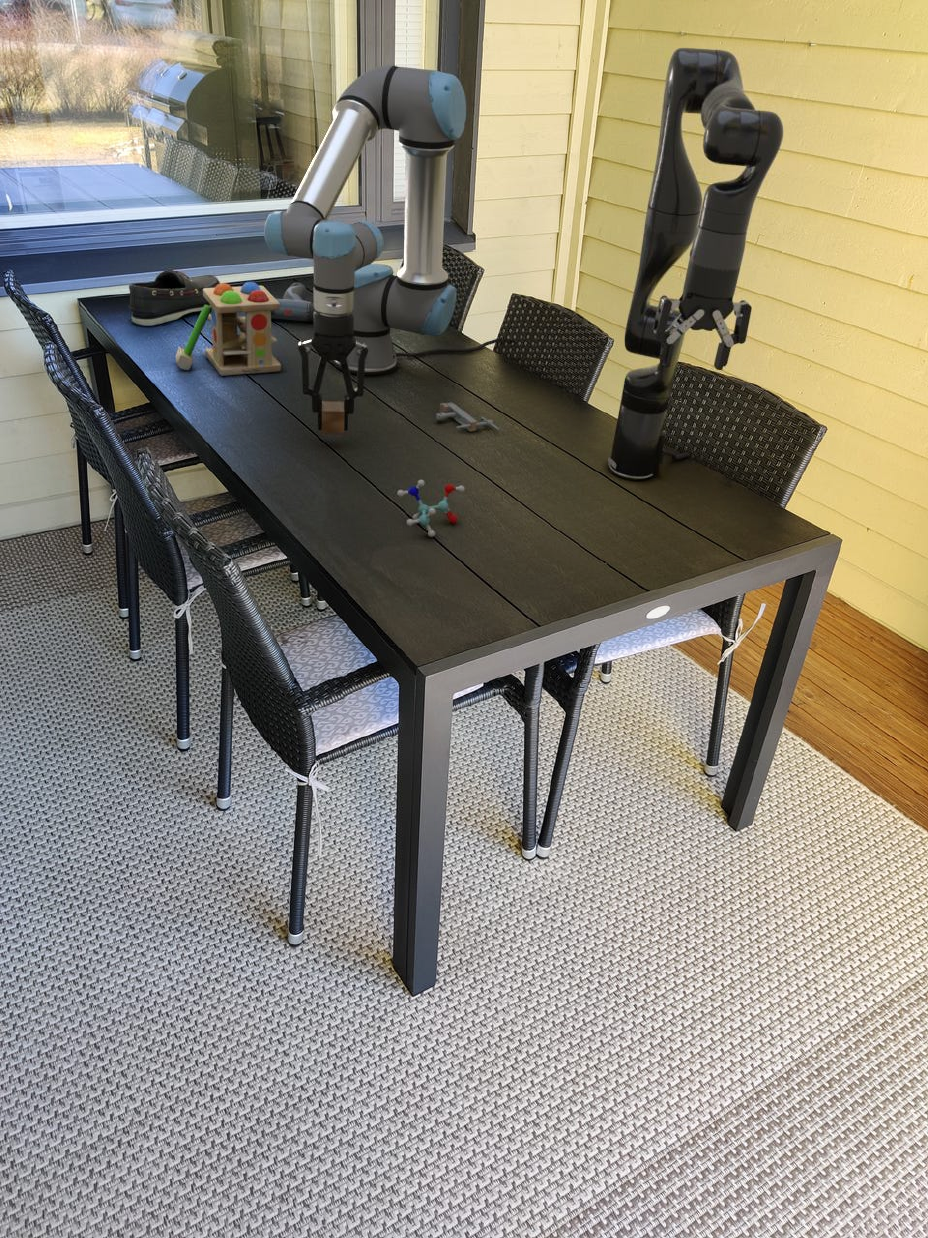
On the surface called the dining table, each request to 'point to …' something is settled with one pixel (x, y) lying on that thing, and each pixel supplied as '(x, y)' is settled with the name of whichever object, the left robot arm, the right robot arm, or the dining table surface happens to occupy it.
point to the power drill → (294, 305)
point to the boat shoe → (168, 297)
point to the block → (333, 417)
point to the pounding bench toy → (229, 347)
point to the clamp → (459, 414)
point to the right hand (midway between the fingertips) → (691, 366)
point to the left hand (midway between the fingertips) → (332, 427)
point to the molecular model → (424, 508)
